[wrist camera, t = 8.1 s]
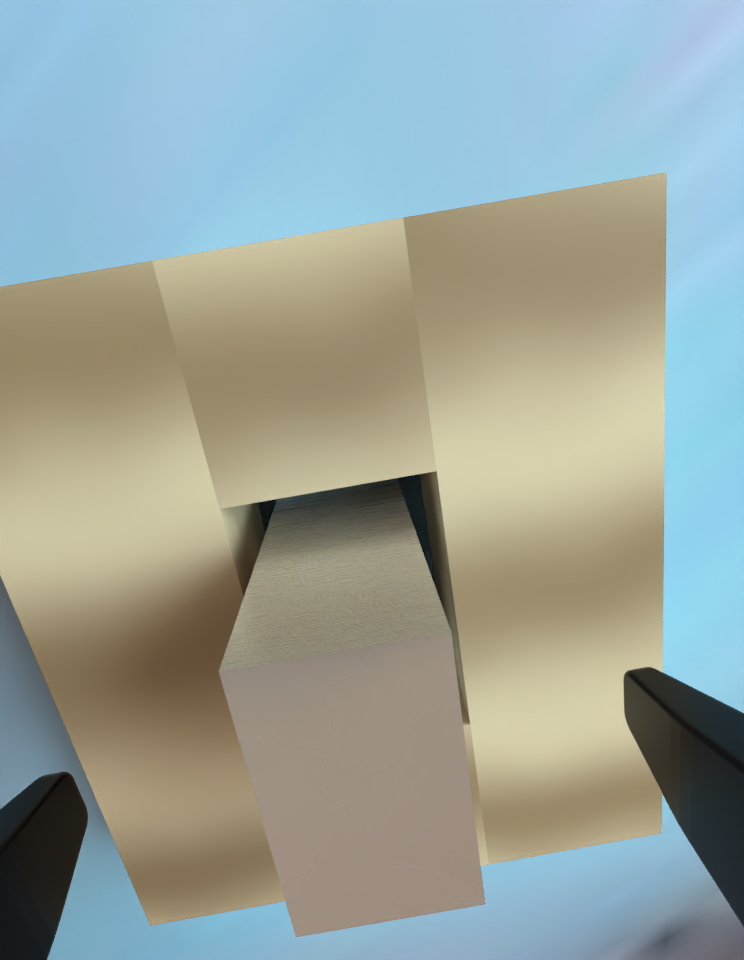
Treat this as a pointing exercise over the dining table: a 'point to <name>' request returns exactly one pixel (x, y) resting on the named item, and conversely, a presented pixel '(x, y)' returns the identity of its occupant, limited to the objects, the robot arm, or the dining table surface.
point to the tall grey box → (353, 715)
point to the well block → (336, 464)
